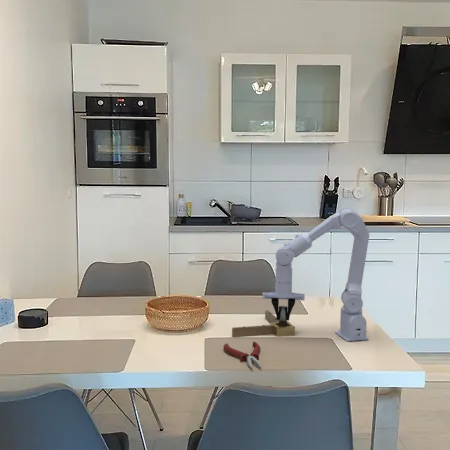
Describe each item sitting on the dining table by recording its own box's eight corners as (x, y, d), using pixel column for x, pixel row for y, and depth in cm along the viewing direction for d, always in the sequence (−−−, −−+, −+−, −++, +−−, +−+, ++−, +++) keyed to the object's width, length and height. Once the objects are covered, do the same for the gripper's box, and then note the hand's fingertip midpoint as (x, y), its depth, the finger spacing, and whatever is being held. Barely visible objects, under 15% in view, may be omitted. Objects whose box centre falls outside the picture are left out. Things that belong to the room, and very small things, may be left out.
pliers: (237, 374, 155) (237, 365, 154) (222, 350, 174) (222, 342, 174) (275, 371, 157) (276, 362, 157) (256, 347, 177) (256, 340, 176)
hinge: (294, 335, 188) (294, 326, 187) (234, 339, 183) (234, 330, 182) (274, 317, 208) (274, 309, 208) (220, 321, 203) (220, 312, 203)
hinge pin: (288, 324, 188) (288, 307, 188) (279, 324, 188) (280, 308, 187) (285, 322, 191) (286, 305, 191) (277, 322, 191) (277, 305, 190)
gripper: (304, 279, 191) (303, 316, 193) (263, 278, 192) (262, 315, 194) (305, 284, 184) (304, 322, 186) (262, 282, 185) (261, 321, 187)
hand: (282, 319), depth 189 cm, fingers closed on hinge pin, 3 cm apart
